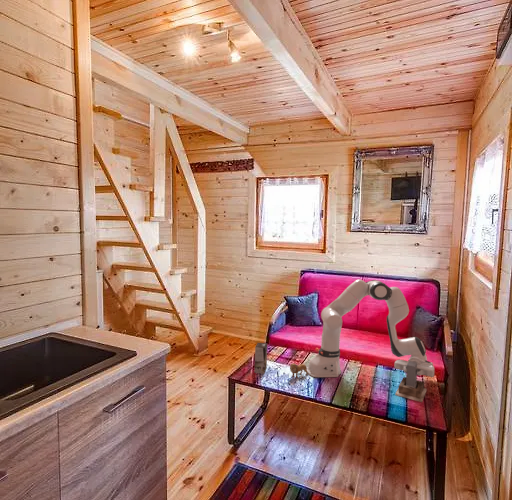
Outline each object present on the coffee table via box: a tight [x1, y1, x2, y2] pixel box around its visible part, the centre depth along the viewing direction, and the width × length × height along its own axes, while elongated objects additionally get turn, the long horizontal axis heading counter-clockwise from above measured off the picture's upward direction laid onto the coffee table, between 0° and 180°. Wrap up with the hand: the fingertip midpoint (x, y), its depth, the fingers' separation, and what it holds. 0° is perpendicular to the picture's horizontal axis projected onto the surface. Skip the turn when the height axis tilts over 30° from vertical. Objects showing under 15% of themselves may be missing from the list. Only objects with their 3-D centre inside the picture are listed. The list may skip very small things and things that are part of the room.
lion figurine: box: [289, 363, 309, 379], centre depth 197 cm, size 15×5×9 cm, turn 132°
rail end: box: [406, 361, 418, 389], centre depth 179 cm, size 4×7×15 cm, turn 146°
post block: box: [394, 376, 428, 403], centre depth 179 cm, size 13×16×5 cm
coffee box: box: [254, 342, 268, 374], centre depth 204 cm, size 9×6×16 cm
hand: (411, 372), depth 178 cm, fingers open, 5 cm apart
